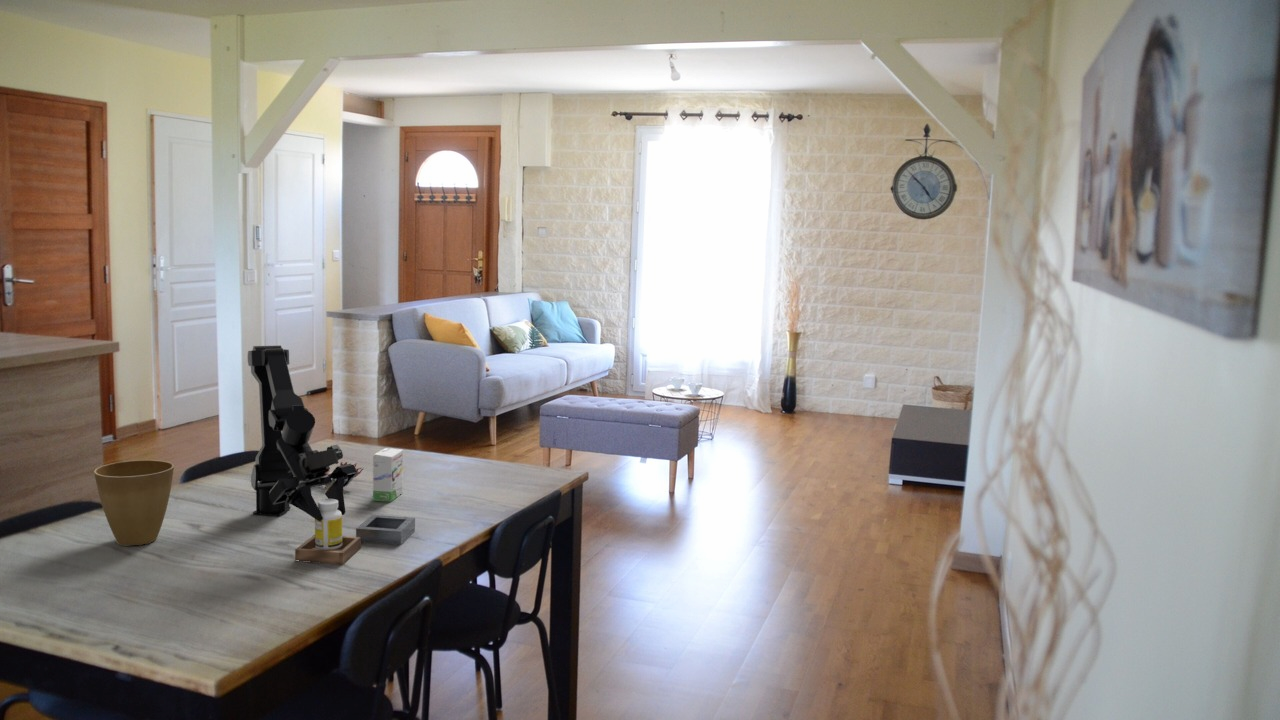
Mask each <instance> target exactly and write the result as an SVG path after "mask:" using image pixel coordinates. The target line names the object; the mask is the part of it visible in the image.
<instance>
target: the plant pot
mask: <svg viewBox="0 0 1280 720" xmlns="http://www.w3.org/2000/svg"><path fill="white" fill-rule="evenodd" d="M174 469H175V464H173V462H170V461H166V460H157V459H139V460H138V459H137V460H126V461H118V462H113V463H107V464H105V465H101V466H98V467H96V468H95V469H94V471H93V473H94V479H95V483H96V487H97V488H96V489H97V492H98V496H99V500H100V503H101V506H102V510H103V512H104V516H105V518H106V520H107V523H108V525H109V529H110V530H111V532H112V534H113V537H114V539H115V540H116V543H117V542H118V543H119V544H118V543H117V544H118V545H120V544H121V545H120V546H123V545H139V546H144V545H143V544H145V545H149V544H151V542H152V543H154V542H155V541H156V540H157V539H158V537H159V535H160V534H159V533H160V531H161V528H162V525H163V523H164V519H165V516H166V514H167V513H166V512H167V509H168V505H169V500H170V494H171V490H172V484H173V477H174V471H175V470H174ZM153 541H154V542H153ZM148 543H149V544H148ZM141 544H142V545H141Z"/></svg>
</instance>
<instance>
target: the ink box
mask: <svg viewBox="0 0 1280 720" xmlns="http://www.w3.org/2000/svg"><path fill="white" fill-rule="evenodd" d="M372 458H373V459H372V462H373V464H372V475H373V477H372V500H373V501H375V502H376V501H377V502H388V503H391V502H393V501H395V500H396V499H397V498H398V497H400V496H401V495H402V494H403V489H404V487H403V485H404V484H403V480H404V479H403V478H404V477H403V475H404V474H403V473H404V471H403V469H404V465H403V464H404V449H401V448H400V449H399V448H392V447H384V448H383V449H380V450H378V451H377V452H376V453H374V455H373V456H372ZM400 494H401V495H400ZM396 497H397V498H396Z"/></svg>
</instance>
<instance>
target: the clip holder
mask: <svg viewBox="0 0 1280 720" xmlns="http://www.w3.org/2000/svg"><path fill="white" fill-rule="evenodd" d="M415 529H416V517H409V516H406V517H405V516H395V515H394V516H393V515H391V516H390V515H376V514H371V515H370V516H368V518H367V519H365V520H364V521H363V522H362V523H360V525H358V526H357V527H356V528H355V537H361V543H367V544H369V543H371V544H381V545H382V544H386V545H398V546H399V545H400V546H401V545H403V543H405V541H406V540H407V539H408V538H409V537H410V536H411V535H412V534H413V533H414V532H415V531H416V530H415Z"/></svg>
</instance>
